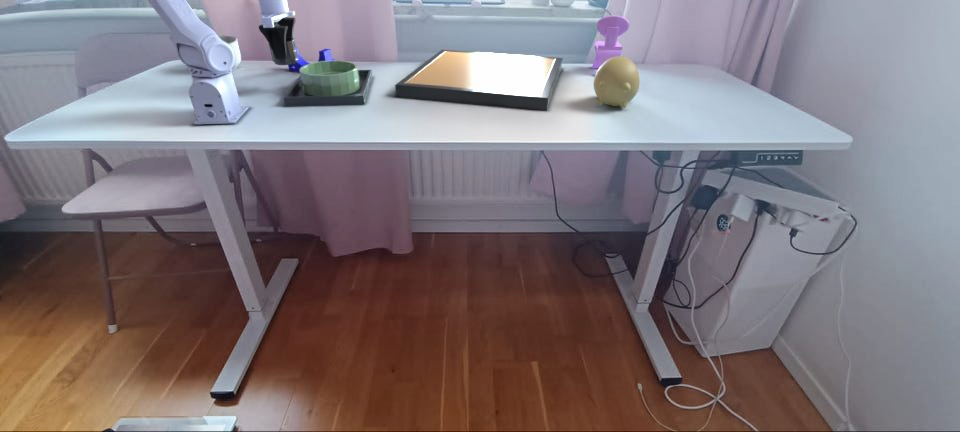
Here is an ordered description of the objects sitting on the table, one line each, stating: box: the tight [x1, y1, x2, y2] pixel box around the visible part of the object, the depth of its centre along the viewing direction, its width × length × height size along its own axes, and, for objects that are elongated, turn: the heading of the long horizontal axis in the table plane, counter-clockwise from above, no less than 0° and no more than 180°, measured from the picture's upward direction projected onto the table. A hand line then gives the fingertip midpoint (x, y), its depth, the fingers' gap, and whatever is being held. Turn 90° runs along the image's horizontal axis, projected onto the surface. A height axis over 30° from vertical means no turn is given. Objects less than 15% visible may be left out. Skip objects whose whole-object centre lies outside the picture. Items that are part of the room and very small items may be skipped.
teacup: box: [217, 34, 242, 71], centre depth 123 cm, size 14×11×8 cm
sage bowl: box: [299, 59, 360, 96], centre depth 110 cm, size 13×13×6 cm
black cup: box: [268, 37, 298, 66], centre depth 105 cm, size 6×6×5 cm
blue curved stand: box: [287, 46, 336, 73], centre depth 124 cm, size 12×4×6 cm, turn 73°
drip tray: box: [283, 69, 373, 107], centre depth 111 cm, size 21×17×2 cm
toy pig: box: [593, 55, 641, 109], centre depth 103 cm, size 10×12×11 cm
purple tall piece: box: [591, 14, 630, 76], centre depth 123 cm, size 8×9×15 cm
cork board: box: [394, 49, 563, 112], centre depth 118 cm, size 36×3×35 cm
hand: (284, 55), depth 105 cm, fingers closed on black cup, 5 cm apart
